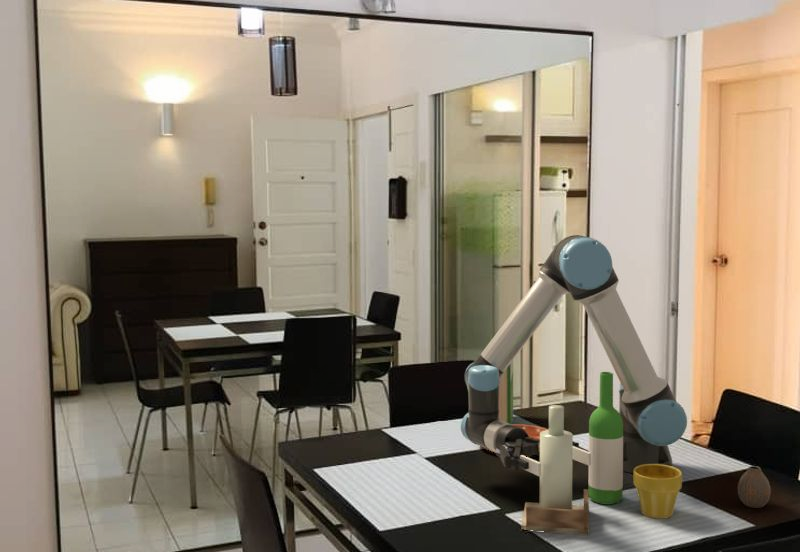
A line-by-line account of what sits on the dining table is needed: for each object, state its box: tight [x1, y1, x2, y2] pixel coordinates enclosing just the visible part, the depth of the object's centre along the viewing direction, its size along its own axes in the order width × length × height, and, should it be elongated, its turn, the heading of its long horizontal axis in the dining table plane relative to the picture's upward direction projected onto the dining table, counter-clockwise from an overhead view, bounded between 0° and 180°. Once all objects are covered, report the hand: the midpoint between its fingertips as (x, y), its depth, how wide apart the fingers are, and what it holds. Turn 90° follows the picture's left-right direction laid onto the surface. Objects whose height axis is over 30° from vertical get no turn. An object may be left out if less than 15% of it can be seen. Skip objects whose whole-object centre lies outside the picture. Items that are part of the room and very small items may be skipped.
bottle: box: [539, 404, 574, 509], centre depth 192 cm, size 7×7×24 cm
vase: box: [737, 465, 772, 509], centre depth 201 cm, size 7×7×9 cm
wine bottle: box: [588, 371, 624, 505], centre depth 204 cm, size 8×8×30 cm
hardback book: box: [488, 341, 514, 424], centre depth 272 cm, size 18×7×24 cm, turn 170°
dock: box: [521, 488, 590, 536], centre depth 193 cm, size 14×14×5 cm
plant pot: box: [632, 464, 683, 519], centre depth 196 cm, size 10×10×10 cm
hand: (565, 464), depth 189 cm, fingers open, 13 cm apart
